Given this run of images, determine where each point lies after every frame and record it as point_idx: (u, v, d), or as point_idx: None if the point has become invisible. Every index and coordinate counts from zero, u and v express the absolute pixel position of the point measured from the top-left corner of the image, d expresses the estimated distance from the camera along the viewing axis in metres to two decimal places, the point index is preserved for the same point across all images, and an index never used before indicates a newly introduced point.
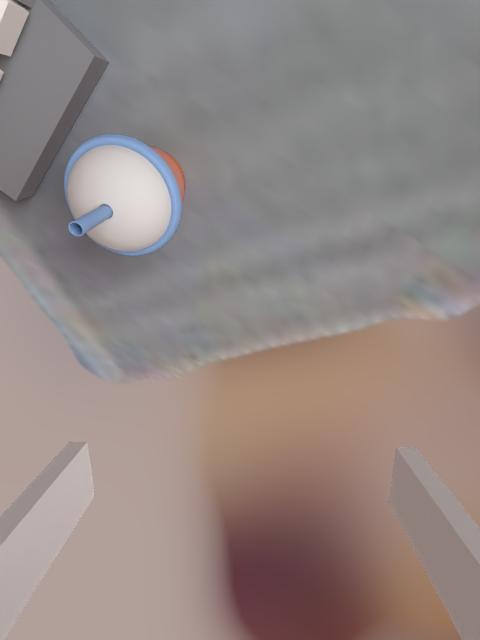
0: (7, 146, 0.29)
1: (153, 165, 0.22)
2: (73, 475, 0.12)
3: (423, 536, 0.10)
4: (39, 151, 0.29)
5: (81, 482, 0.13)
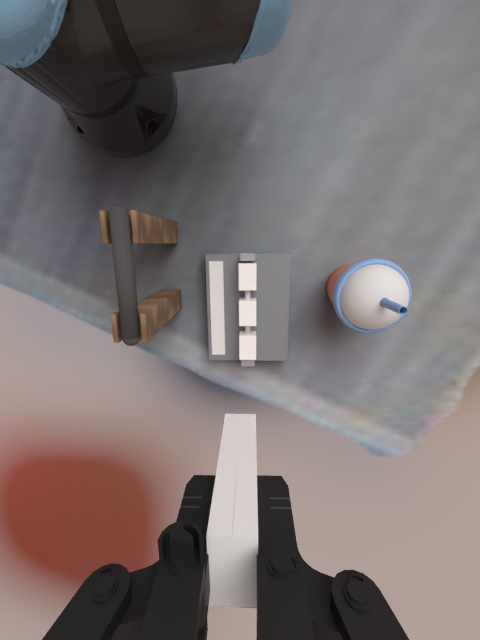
0: (270, 333, 0.46)
1: (379, 264, 0.35)
2: None
3: None
4: (287, 321, 0.45)
5: None
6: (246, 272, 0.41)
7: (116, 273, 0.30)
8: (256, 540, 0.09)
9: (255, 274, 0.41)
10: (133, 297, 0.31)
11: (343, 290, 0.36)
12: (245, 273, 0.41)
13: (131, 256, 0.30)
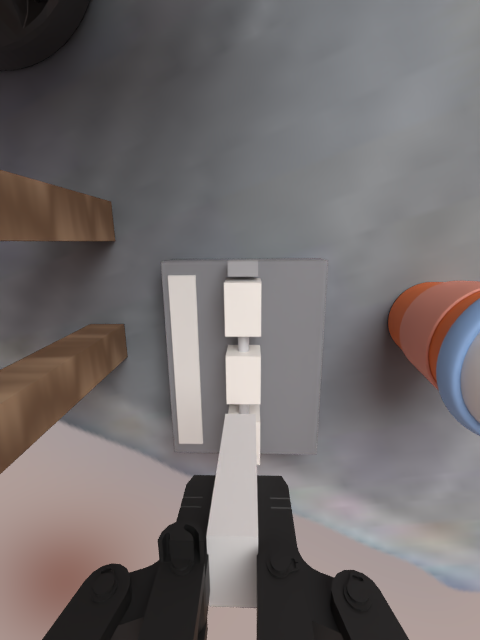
0: (286, 407, 0.25)
1: None
2: None
3: None
4: (318, 387, 0.24)
5: None
6: (240, 300, 0.20)
7: None
8: (256, 540, 0.09)
9: (260, 305, 0.20)
10: None
11: (474, 355, 0.15)
12: (238, 302, 0.20)
13: None
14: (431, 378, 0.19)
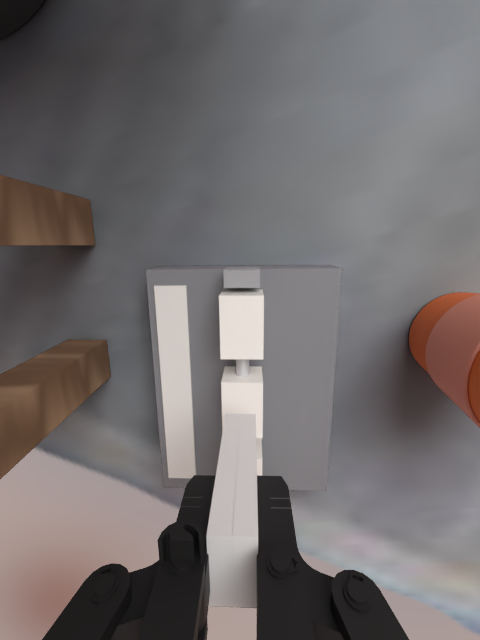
0: (292, 437, 0.21)
1: None
2: None
3: None
4: (329, 414, 0.21)
5: None
6: (238, 317, 0.17)
7: None
8: (256, 540, 0.09)
9: (262, 323, 0.17)
10: None
11: None
12: (236, 319, 0.17)
13: None
14: (470, 412, 0.16)
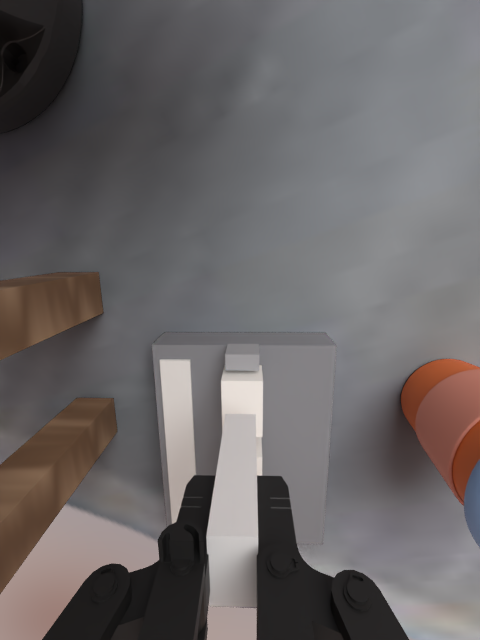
0: (290, 496, 0.22)
1: None
2: None
3: None
4: (325, 475, 0.22)
5: None
6: (239, 399, 0.18)
7: None
8: (256, 540, 0.09)
9: (261, 405, 0.18)
10: None
11: None
12: (237, 401, 0.18)
13: None
14: (455, 492, 0.17)
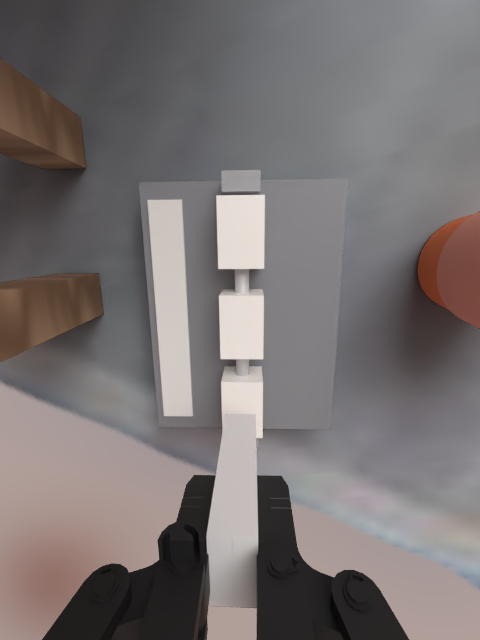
0: (295, 370, 0.20)
1: None
2: None
3: None
4: (333, 344, 0.20)
5: None
6: (237, 220, 0.15)
7: None
8: (256, 540, 0.09)
9: (263, 226, 0.15)
10: None
11: None
12: (235, 223, 0.15)
13: None
14: None
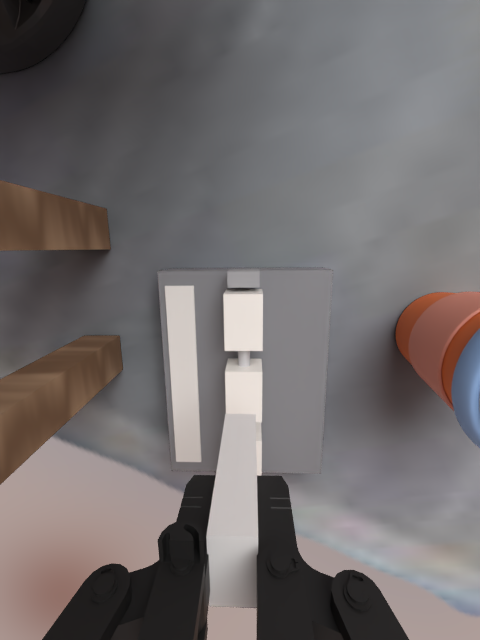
0: (289, 424, 0.23)
1: None
2: None
3: None
4: (322, 402, 0.23)
5: None
6: (241, 313, 0.19)
7: None
8: (256, 540, 0.09)
9: (261, 318, 0.19)
10: None
11: None
12: (238, 315, 0.19)
13: None
14: (444, 396, 0.18)
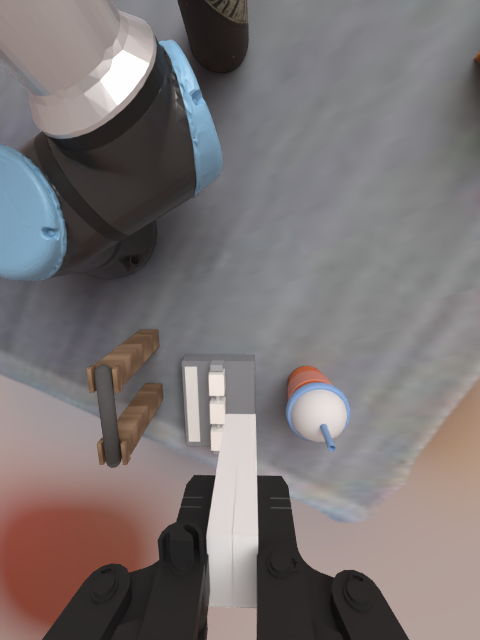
0: None
1: (322, 389, 0.42)
2: None
3: None
4: None
5: None
6: (215, 381, 0.48)
7: (100, 415, 0.37)
8: (256, 540, 0.09)
9: (223, 383, 0.48)
10: (115, 432, 0.38)
11: (292, 409, 0.43)
12: (214, 382, 0.48)
13: (113, 401, 0.37)
14: None
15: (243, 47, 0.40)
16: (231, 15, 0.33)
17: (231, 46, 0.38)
